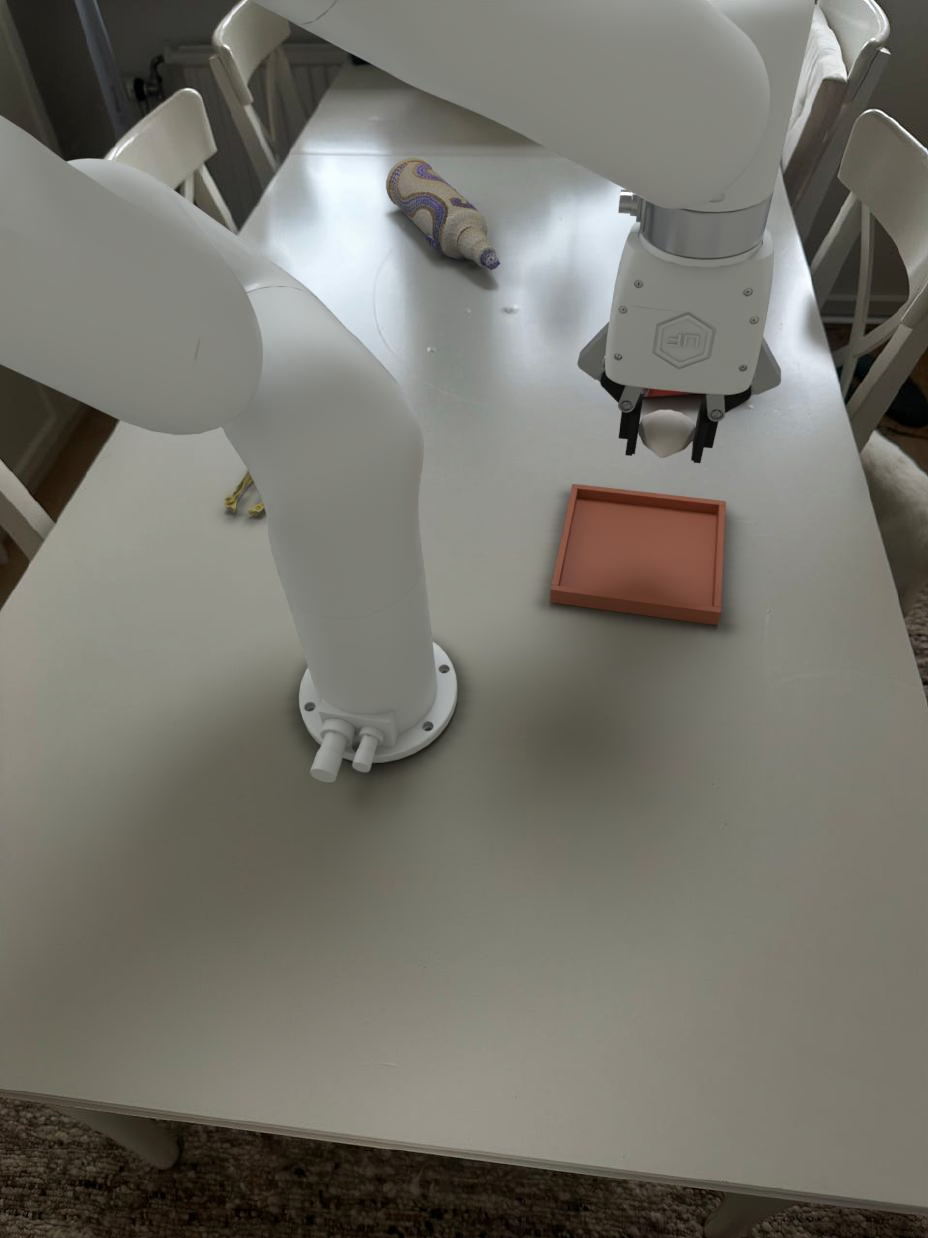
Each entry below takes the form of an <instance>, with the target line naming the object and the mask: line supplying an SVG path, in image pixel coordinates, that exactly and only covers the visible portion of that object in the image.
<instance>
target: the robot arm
mask: <svg viewBox="0 0 928 1238" xmlns="http://www.w3.org/2000/svg"><path fill="white" fill-rule="evenodd" d="M250 1H251V2H253V3H255V4H257V5H259V6H260V7H261V8H264V9H266V10H268V11H269V12H272V13H274V14H276V15H278V16H280V17H282V18H284V19H286V20H288V21H289V22H290V23H292V24H294V25H296V26H298V27H299V28H302V29H304V30H305V31H307V32H310V33H311V34H313V35H315V36H317V37H319V38H321V39H323V40H325V41H326V42H329V43H330V44H331V45H334V46H336V47H337V48H338V47H339V48H340V49H341V50H344V51H345V52H346V53H347V52H348V53H349V54H351V55H354V56H355V57H357V58H360V59H361V60H363V61H365V62H367V63H369V64H370V65H372V66H375V67H376V68H378V69H380V70H383V71H384V72H386V73H388V74H389V75H391V76H393V77H395V78H396V79H398V80H400V81H401V82H403V83H405V84H408V85H410V86H411V87H414V88H416V89H418V90H420V91H423V92H425V93H427V94H430V95H432V96H435V97H437V98H440V99H442V100H445V101H447V102H449V103H452V104H454V105H457V106H458V107H459V106H460V107H462V108H464V109H467V110H469V111H471V112H473V113H476V114H479V115H480V116H483V117H484V118H487V119H490V120H492V121H493V122H496V123H498V124H500V125H502V126H503V127H505V128H507V129H510V130H512V131H513V132H515V133H518V134H520V135H522V136H524V137H525V138H527V139H529V140H531V141H533V142H534V143H537V144H539V145H541V146H543V148H546V149H548V150H549V151H552V152H554V153H556V154H557V155H559V156H561V157H563V158H565V159H567V160H569V161H571V162H573V163H575V164H576V165H578V166H579V167H582V168H584V169H586V170H588V171H589V172H591V173H593V174H595V175H597V176H599V177H600V178H602V179H605V180H606V181H609V182H611V183H613V184H614V185H617V186H619V187H620V188H622V189H621V190H620V195H619V201H618V214H625V215H626V214H627V215H628V214H629V216H630V217H635V218H636V219H635V222H634V224H633V225H632V226H631V228H630V230H629V232H628V235H627V236H626V240H625V243H624V246H623V249H622V252H621V255H620V260H619V262H618V268H617V273H616V277H615V283H614V287H613V294H612V300H611V307H610V313H609V319H608V322H607V323H605V325H604V326H603V327H602V328H601V329H600V330H599V331H598V332H597V333H596V334H595V335H594V336H593V337H592V338H591V340H590V341H589V342H587V344H586V345H585V346H584V347H583V348H582V349H581V350H580V352H579V354H578V359H577V363H576V365H577V367H578V369H580V370H581V371H582V372H584V373H585V374H587V375H588V376H589V377H590V378H592V379H593V380H595V381H596V380H597V381H598V382H599V384H600V386H601V387H602V388H603V389H604V391H606V392H607V393H608V395H610V396H611V397H612V398H613V399H614V400H615V402H617V403H618V404H617V407H618V409H619V411H620V413H621V415H620V420H619V429H618V430H619V432H618V439H621V440H626V447H625V456H629V457H632V456H633V455H636V449H637V444H638V443H637V441H638V437H639V433H638V430H639V424H640V422H641V414H642V408H643V402H644V401H643V400H644V397H643V395H644V394H641V391H642V389H643V388H650V389H660V390H670V391H681V392H692V393H700V394H703V395H704V394H705V395H704V396H703V399H700V402H699V407H698V412H697V417H696V422H695V435H694V439H693V441H692V446H691V457H690V461H692V462H693V463H694V464H701V462H702V459H703V453H704V449H705V448H706V449H713V447H714V443H715V439H716V435H717V430H718V427H719V422H721V421H723V420H724V418H725V417H726V414H727V413H729V412H730V411H732V410H734V409H735V408H737V407H739V406H740V405H742V404H744V403H745V402H747V401H749V400H750V399H751V398H752V396H755V395H756V396H759V395H760V394H762V393H766V392H767V391H769V390H772V389H774V388H777V387H778V386H779V385H780V384H781V383H782V369H781V366H780V365H779V363H778V361H777V359H776V357H775V356H774V353H773V352H772V350H771V348H770V347H769V344H768V343H767V341H766V339H765V337H764V334H765V327H766V322H767V316H768V310H769V305H770V299H771V291H772V285H773V275H774V265H775V264H774V259H775V254H774V253H775V252H774V251H775V249H774V246H775V245H774V243H773V236H772V234H771V232H770V231H769V229H767V228H766V227H767V222H768V217H769V213H770V209H771V204H772V201H773V195H774V191H775V186H776V181H777V177H778V173H779V168H780V164H781V161H782V160H781V159H782V156H783V152H784V147H785V143H786V139H787V134H788V129H789V125H790V122H791V118H792V117H791V116H792V112H793V108H794V104H795V99H796V94H797V90H798V85H799V82H800V78H801V73H802V69H803V65H804V60H805V55H806V50H807V46H808V43H809V39H810V33H811V30H812V25H813V18H814V13H815V6H816V0H250ZM0 365H1V366H3V367H5V368H8V369H9V370H12V371H14V372H16V373H18V374H21V375H23V376H25V377H27V378H29V379H31V380H33V381H35V382H38V383H41V384H42V385H44V386H46V387H49V388H51V389H53V390H55V391H57V392H60V393H62V394H64V395H66V396H69V397H71V398H73V399H75V400H77V401H79V402H81V403H83V404H85V405H88V406H90V407H92V408H94V409H96V410H98V411H100V412H102V413H104V414H105V415H108V416H110V417H112V418H114V419H117V420H119V421H120V422H123V423H126V424H128V425H132V426H135V427H139V428H141V429H144V430H146V431H150V432H154V433H162V434H168V435H175V436H187V435H199V434H203V433H207V432H210V431H213V430H218V429H219V428H222V430H223V432H224V434H225V437H226V438H227V439H228V441H229V443H230V444H231V445H232V447H233V449H234V450H235V452H236V453H237V455H238V457H239V458H240V460H241V462H242V463H243V464H244V466H245V468H246V469H247V470H248V471H249V473H250V475H251V477H252V479H253V481H252V482H253V483H254V485H255V487H256V489H257V492H258V493H259V497H260V499H261V501H262V502H263V505H264V511H265V514H266V518H267V532H268V541H269V546H270V549H271V554H272V558H273V560H274V564H275V567H276V571H277V575H278V578H279V581H280V583H281V587H282V589H283V591H284V594H285V597H286V600H287V603H288V606H289V610H290V613H291V616H292V619H293V622H294V626H295V630H296V633H297V636H298V638H299V643H300V645H301V649H302V652H303V655H304V658H305V661H306V665H307V668H306V670H305V672H304V674H303V677H302V679H301V681H300V686H299V692H298V706H299V710H300V714H301V717H302V721H303V723H304V725H305V727H306V730H307V732H308V733H309V734H310V735H311V737H312V739H314V741H315V742H316V743H317V744H318V745H320V747H319V749H318V750H317V751H316V754H315V756H314V760H313V763H312V765H311V768H310V770H309V774H310V776H311V777H312V778H314V779H315V780H317V781H319V782H322V783H327V784H330V783H335V781H336V780H337V777H338V774H339V771H340V768H341V766H342V762H343V759H344V760H348V761H352V764H351V767H352V768H353V769H354V770H356V771H357V772H360V773H369V772H370V771H371V768H372V764H378V763H388V762H392V761H398V760H401V759H404V758H406V757H409V756H411V755H414V754H416V753H418V752H419V751H421V750H422V749H424V748H425V747H428V746H429V745H430V744H431V743H433V741H435V740H436V739H437V738H438V737H439V736H441V734H442V732H444V730H445V729H446V727H447V726H448V725H449V723H450V721H451V719H452V717H453V715H454V713H455V710H456V706H457V702H458V681H457V674H456V671H455V667H454V665H453V662H452V661H451V659H450V658H449V656H448V654H447V653H446V651H444V649H443V648H442V647H441V646H440V645H439V644H438V643H436V642H435V641H433V632H432V623H431V616H430V605H429V597H428V587H427V580H426V571H425V570H426V569H425V562H424V553H423V547H422V538H421V529H420V511H419V509H420V508H419V507H420V506H419V505H420V491H421V490H420V489H421V480H422V475H423V467H424V461H425V460H424V459H425V443H424V435H423V430H422V426H421V423H420V420H419V416H418V414H417V412H416V410H415V407H414V406H413V404H412V402H411V400H410V399H409V397H408V395H407V394H406V392H405V391H404V389H403V388H402V386H401V385H400V384H399V382H398V381H397V380H396V379H395V377H394V376H393V374H391V372H390V371H389V370H388V368H387V367H386V366H384V365H385V364H383V363H382V362H381V361H380V360H379V359H378V357H376V355H375V354H373V352H372V351H371V349H369V348H368V347H367V346H366V345H365V344H364V343H363V342H362V341H361V339H359V337H358V336H356V334H354V333H353V332H352V331H350V330H349V328H347V326H346V325H345V324H344V323H343V322H342V321H341V319H339V318H338V316H336V315H335V314H334V313H333V312H332V310H331V309H330V308H329V307H327V305H326V304H325V303H324V302H323V301H322V300H321V299H320V298H319V297H318V296H317V294H315V293H314V292H313V291H312V290H310V289H309V287H307V286H306V285H304V283H302V282H301V281H299V280H298V279H297V278H296V277H294V276H293V275H291V274H290V273H289V272H287V271H286V270H285V269H284V268H282V267H280V266H279V265H278V264H276V263H275V262H274V261H272V260H271V259H270V258H269V257H267V256H265V255H264V254H263V253H261V252H260V251H259V250H257V249H256V248H254V247H253V246H252V245H250V244H249V243H247V242H246V241H245V240H244V239H242V238H241V237H239V236H238V235H237V234H235V233H234V232H232V231H231V230H230V229H228V228H227V227H226V226H224V225H223V224H222V223H220V222H218V221H217V220H216V219H214V218H213V217H211V216H210V215H209V214H207V213H206V212H205V211H203V210H202V209H201V208H199V207H198V206H196V205H195V204H194V203H192V202H191V201H189V200H188V199H187V198H186V197H184V196H183V195H181V194H180V193H178V192H177V191H176V190H174V189H173V188H172V187H170V186H169V185H167V184H165V182H163V181H161V180H160V179H158V178H157V177H154V176H153V175H151V174H149V173H147V172H146V171H144V170H141V169H139V168H137V167H135V166H132V165H129V164H126V163H124V162H120V161H115V160H110V159H104V158H78V159H71V160H68V161H67V160H64V158H62V157H61V156H59V155H57V153H56V152H53V151H52V150H51V149H50V148H49V147H48V146H46V145H44V143H42V142H41V141H40V140H38V139H37V138H36V137H34V136H33V135H32V134H30V133H29V132H27V131H26V130H24V128H22V127H20V126H18V125H17V124H15V123H13V122H12V121H10V120H9V119H8V118H6V117H4V116H3V115H1V114H0ZM742 367H743V368H742Z"/></svg>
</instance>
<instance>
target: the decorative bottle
mask: <svg viewBox="0 0 928 1238" xmlns="http://www.w3.org/2000/svg"><path fill="white" fill-rule="evenodd" d="M385 190H386V193H387V196H388V198H389V200H390V202H391V203H393V205H395V206H397V207H398V209H399V210H401V211H402V212H403V213H404V214H405V215H406V216H407V217H408V219H410V221H412V222H413V224H415V226H417V228H418V229H419V230H421V232H422V233H423V234H424V235H425V237H426V240H427V242H428V243H429V245H430V247H432V248H433V249H435V250H436V251H438V252H440V253H441V254H443V255H445V256H447V257H448V258H449V259H452V260H466V259H467V260H470V261H473V262H474V263H476V264H477V266H479V267H481V268H487V269H489V270H490V271H493V270H495V269H497V268H498V266H499V265H501V263H500V260H499V258H498V256H497V251H496V249H495V248H494V246H493V245H492V244H491V243H490V241H489V238H488V230H489V229H488V223H487V221H486V217H485V216H484V215H483V213H482V212H480V211H479V210H478V209H477V208H476V207H475V206H474V205H473V204H472V203H470V202H469V201H468V200H467V199H466V198H465V197H464V196H463V195H462V194H460V193H459V192H458V191H457V189H456V188H454V187H453V186H452V185H451V184H449V183H448V182H447V181H446V180H445V178H443V177H442V176H441V175H440V174H439V173H437V172H436V171H434V169H433V168H432V166H431V165H430V163H428V162H427V161H425V160H423V159H420V158H418V157H408V158H405V159H403V160H400V161H399V162H397V163H396V164H394V165H393V167H391V169H390V170H389V172H388V173H387V177H386V181H385Z"/></svg>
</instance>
